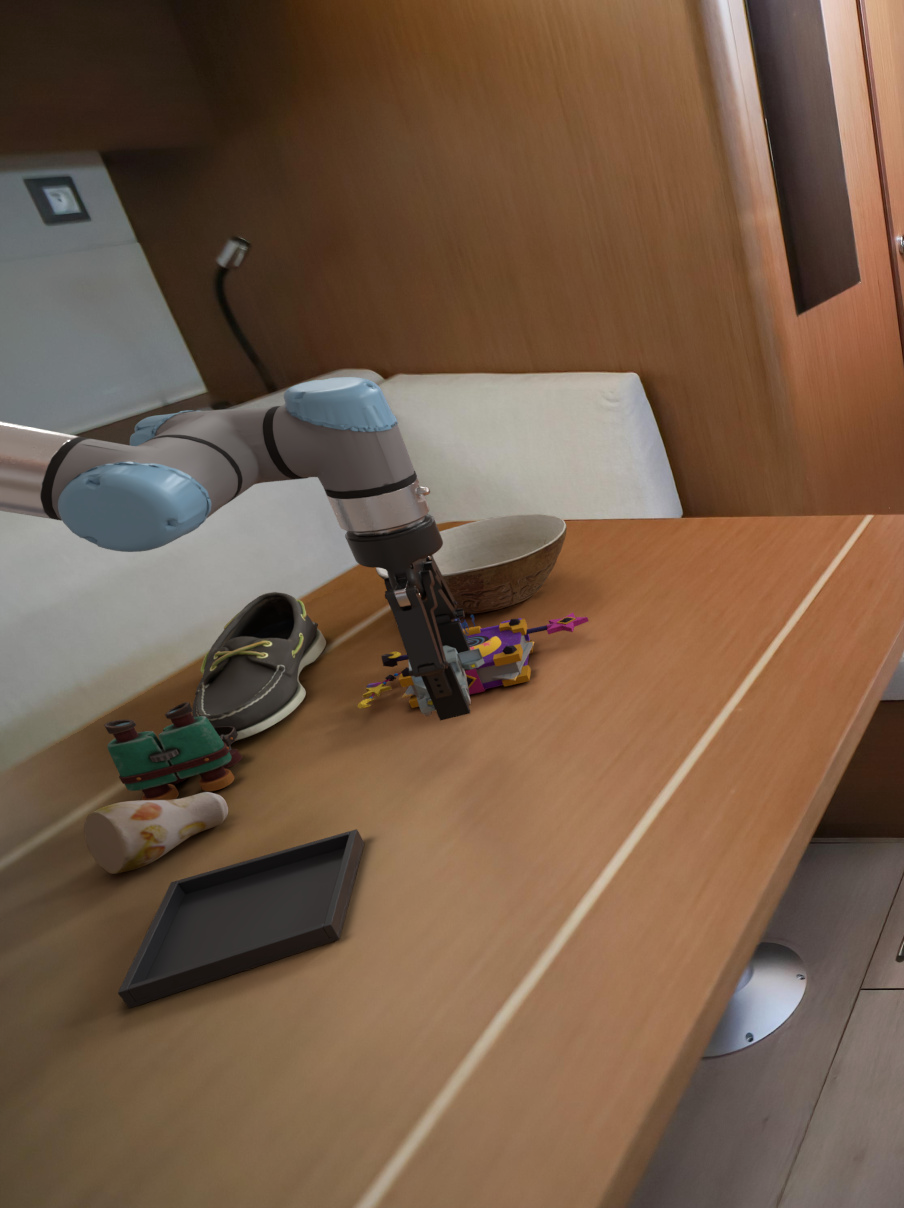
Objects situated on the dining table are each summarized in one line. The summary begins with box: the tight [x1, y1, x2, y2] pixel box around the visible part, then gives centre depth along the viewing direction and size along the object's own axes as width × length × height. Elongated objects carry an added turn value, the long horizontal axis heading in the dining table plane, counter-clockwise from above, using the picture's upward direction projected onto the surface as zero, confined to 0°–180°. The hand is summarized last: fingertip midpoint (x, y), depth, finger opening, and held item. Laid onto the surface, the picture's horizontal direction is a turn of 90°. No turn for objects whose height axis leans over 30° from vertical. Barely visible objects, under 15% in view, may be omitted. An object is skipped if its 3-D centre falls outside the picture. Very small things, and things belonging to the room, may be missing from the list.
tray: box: [117, 828, 365, 1009], centre depth 92 cm, size 14×15×2 cm
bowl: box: [375, 513, 568, 615], centre depth 148 cm, size 24×24×10 cm
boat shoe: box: [191, 591, 327, 742], centre depth 124 cm, size 11×29×9 cm, turn 38°
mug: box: [83, 791, 229, 875], centre depth 100 cm, size 8×10×10 cm
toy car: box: [407, 646, 484, 718], centre depth 112 cm, size 6×10×5 cm, turn 40°
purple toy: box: [357, 609, 590, 709], centre depth 128 cm, size 15×25×12 cm, turn 121°
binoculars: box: [103, 701, 243, 801], centre depth 108 cm, size 9×11×10 cm
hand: (459, 692), depth 113 cm, fingers closed on toy car, 10 cm apart
